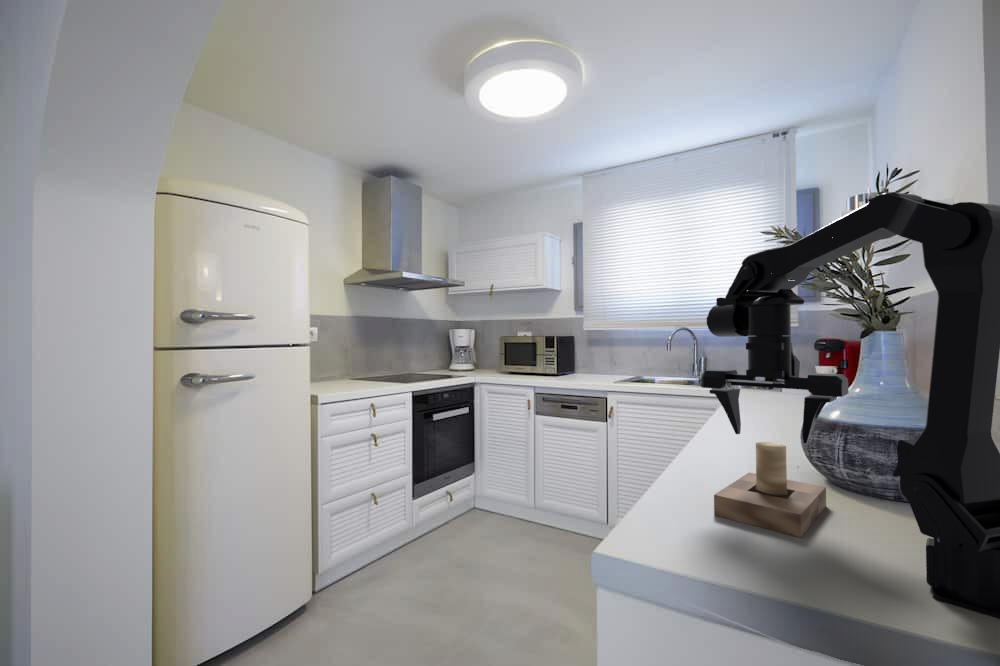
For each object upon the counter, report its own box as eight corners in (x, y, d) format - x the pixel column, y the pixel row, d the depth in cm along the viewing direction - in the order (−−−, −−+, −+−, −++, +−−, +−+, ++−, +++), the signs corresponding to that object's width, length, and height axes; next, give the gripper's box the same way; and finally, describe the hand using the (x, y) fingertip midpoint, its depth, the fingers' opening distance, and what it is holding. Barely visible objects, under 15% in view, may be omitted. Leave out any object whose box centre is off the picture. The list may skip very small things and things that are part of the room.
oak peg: (791, 510, 69) (790, 444, 69) (783, 518, 66) (782, 449, 66) (760, 503, 72) (759, 440, 72) (752, 510, 69) (751, 444, 69)
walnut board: (826, 506, 71) (825, 486, 71) (800, 537, 60) (800, 514, 60) (749, 489, 79) (749, 472, 79) (714, 514, 68) (713, 494, 68)
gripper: (853, 335, 69) (855, 439, 68) (724, 336, 82) (725, 423, 82) (840, 335, 61) (842, 452, 61) (699, 336, 74) (700, 432, 74)
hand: (770, 438), depth 69 cm, fingers open, 9 cm apart
